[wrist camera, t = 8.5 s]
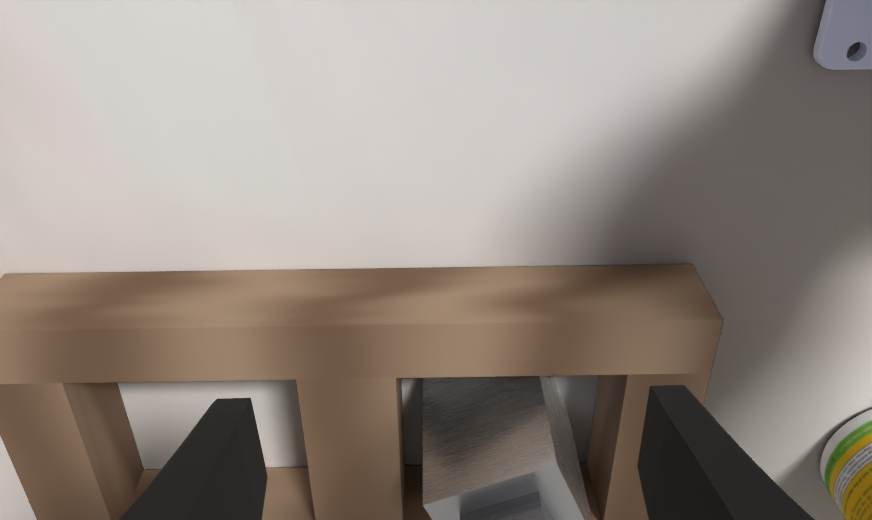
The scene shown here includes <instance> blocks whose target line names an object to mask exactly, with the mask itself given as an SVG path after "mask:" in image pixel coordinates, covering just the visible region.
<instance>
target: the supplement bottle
mask: <svg viewBox="0 0 872 520" xmlns="http://www.w3.org/2000/svg"><path fill="white" fill-rule="evenodd" d="M820 471H821V475H822V479H823V481H824V483H825V485H826V487H827V489H828V491H829V493H830V495H831V497H832V498H833V500H834V502H835V503H836V505H837V507H838V508H839V510H840V512H841V514H842V515H843V517H844V518H845V520H872V409H870V410H868V411H866V412H864V413H862V414H860V415H858V416H857V417H855V418H853V419H852V420H850V421H849V422H847V423H846V424H845V425H843V426H842V427H841V428H840V429H839V430H838V431H837V432H836V433H835V434H834V435H833V436H832V437H831V438H830V440H829V441H828V443H827V444H826V446H825V448H824V451H823V454H822V457H821V462H820Z"/></svg>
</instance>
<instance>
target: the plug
mask: <svg viewBox="0 0 872 520" xmlns="http://www.w3.org/2000/svg"><path fill="white" fill-rule="evenodd" d="M423 506H424V508H425V509H426V511H427V512H428V514H429V515H430V517H431V519H432V520H592V516H591V512H590V508H589V503H588V499H587V495H586V490H585V486H584V482H583V477H582V473H581V469H580V464H579V460H578V456H577V451H576V447H575V443H574V438H573V434H572V430H571V425H570V421H569V417H568V412H567V409H566V407H565V405H564V403H563V400H562V398H561V396H560V394H559V392H558V389H557V387H556V385H555V383H554V381H553V379H552V376H496V377H431V378H423Z"/></svg>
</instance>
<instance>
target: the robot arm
mask: <svg viewBox="0 0 872 520" xmlns="http://www.w3.org/2000/svg"><path fill="white" fill-rule="evenodd" d="M857 42H860V48H859V50H858V51H857V53H855V54H854V55H853V56H850V57H847V51H848V49H849V47H850V46H851V45H853V44H854V43H857ZM813 56H814V58H815V61H816V62H817V63H818V64H820V65H821V66H823V67H824V68H825V69H830V70H868V69H872V0H826V3H825V7H824V11H823V14H822V18H821V22H820V26H819V30H818V34H817V38H816V41H815V45H814V52H813ZM637 468H638V472H639V477H640V482H641V487H642V492H643V496H644V501H645V505H646V509H647V514H648V518H649V520H814V519H813V518H812V517H811V516H810V515H809V514H808V513H806V512H805V511H804V510H803V509H802V508H801V507H800V506H799V505H798V504H797V503H796V502H795V501H794V500H793V499H791V498H790V497H789V496H788V495H787V494H786V493H785V492H784V491H783V490H782V489H781V488H780V487H779V486H778V485H777V484H776V483H775V482H774V481H773V480H772V479H771V478H770V477H769V476H768V475H767V474H766V473H765V472H764V471H763V470H762V469H761V468H760V467H759V466H758V465H757V464H756V463H755V462H754V461H753V460H752V459H751V458H750V457H749V456H748V455H747V454H746V453H745V451H744V450H743V449H742V448H741V447H740V446H739V445H738V444H737V443H736V442H735V441H734V440H733V439H732V437H731V436H730V435H729V434H728V433H727V432H726V431H725V430H724V429H723V428H722V426H721V425H720V424H719V423H718V422H717V421H716V420H715V419H714V417H713V416H712V415H711V414H710V413H709V412H708V411H707V410H706V408H705V407H704V406H703V405H702V404H701V403H700V402H699V400H698V399H697V398H696V397H695V396H694V395H693V394H692V393H691V391H690V390H689V389H688V388H687V387H686V386H685V385H662V386H650V389H649V395H648V401H647V408H646V414H645V420H644V426H643V433H642V439H641V445H640V451H639V458H638V464H637ZM267 478H268V476H267V472H266V467H265V462H264V458H263V453H262V448H261V444H260V439H259V435H258V430H257V425H256V421H255V416H254V411H253V407H252V402H251V398H232V399H217V400H216V401H215V402H214V403H212V405H211V406H210V407H209V409H208V410H207V411H206V413H205V414H204V415H203V417H202V418H201V419H200V421H199V422H198V423H197V425H196V426H195V427H194V429H193V430H192V431H191V433H190V434H189V435H188V437H187V438H186V439H185V440H184V442H183V443H182V444H181V446H180V447H179V448H178V449H177V451H176V452H175V453H174V455H173V456H172V457H171V458H170V460H169V461H168V462H167V463H166V465H165V466H164V467H163V468H162V469H161V471H160V472H159V473H158V474H157V475H156V477H155V478H154V479H153V480H152V482H151V483H150V484H149V485H148V486H147V488H146V489H145V490H144V491H143V492H142V494H141V495H140V496H139V497H138V498H137V499H136V500H135V502H134V503H133V504H132V505H131V506H130V507H129V508H128V509H127V510H126V511H125V513H124V514H123V515H122V516H121V517H120V518H119V519H118V520H262V514H263V507H264V500H265V493H266V485H267Z"/></svg>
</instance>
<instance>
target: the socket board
mask: <svg viewBox="0 0 872 520" xmlns="http://www.w3.org/2000/svg"><path fill="white" fill-rule="evenodd" d="M722 324H723V318H722V316H721V314H720V313H719V311H718V309H717V307H716V305H715V304H714V302H713V300H712V298H711V297H710V295H709V293H708V291H707V290H706V288H705V286H704V284H703V282H702V281H701V279H700V277H699V275H698V274H697V272H696V270H695V268H694V267H693V265H692V264H658V265H588V266H518V267H448V268H377V269H307V270H237V271H167V272H97V273H26V274H4V275H3V276H2V278H1V279H0V436H1V438H2V440H3V442H4V445H5V447H6V449H7V452H8V454H9V456H10V459H11V461H12V463H13V465H14V468H15V470H16V472H17V475H18V477H19V479H20V482H21V484H22V486H23V488H24V491H25V493H26V495H27V498H28V500H29V502H30V505H31V507H32V509H33V511H34V514H35V516H36V518H37V520H118V519H119V518H120V517H121V516H122V515H123V514H124V513H125V511H126V510H127V509H128V508H129V507H130V506H131V505H132V504H133V503H134V502H135V500H136V499H137V498H138V497H139V496H140V495H141V494H142V492H143V491H144V490H145V489H146V488H147V486H148V485H149V484H150V483H151V482H152V480H153V479H154V478H155V477H156V475H157V474H158V473H159V472H160V471H161V470H143V466H142V463H141V460H140V456H139V453H138V450H137V447H136V443H135V440H134V437H133V434H132V430H131V427H130V424H129V421H128V417H127V414H126V411H125V407H124V404H123V401H122V398H121V394H120V391H119V388H118V385H117V382H170V381H235V380H296V384H297V391H298V399H299V406H300V413H301V420H302V427H303V434H304V441H305V449H306V456H307V463H308V467H289V468H266V472H267V476H268V478H267V485H266V493H265V500H264V507H263V514H262V520H432V519H431V517H430V515H429V514H428V512H427V511H426V509H425V508H424V506H423V465H413V466H405V458H404V434H403V411H402V388H401V378H431V377H496V376H562V375H599V379H598V387H597V394H596V401H595V408H594V415H593V423H592V430H591V437H590V444H589V451H588V458H587V463H579V464H580V469H581V473H582V477H583V482H584V486H585V490H586V495H587V499H588V503H589V508H590V512H591V516H592V520H649V518H648V514H647V509H646V505H645V501H644V496H643V492H642V487H641V482H640V477H639V472H638V468H637V464H638V458H639V451H640V445H641V439H642V433H643V426H644V420H645V414H646V408H647V401H648V395H649V389H650V386H662V385H685V386H686V387H687V388H688V389H689V390H690V391H691V393H692V394H693V395H694V396H695V397H696V398H697V399H698V400H699V402H700V403H701V404H702V405H703V403H704V399H705V395H706V391H707V386H708V382H709V378H710V374H711V370H712V366H713V362H714V357H715V353H716V349H717V345H718V341H719V337H720V333H721V329H722Z"/></svg>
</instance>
